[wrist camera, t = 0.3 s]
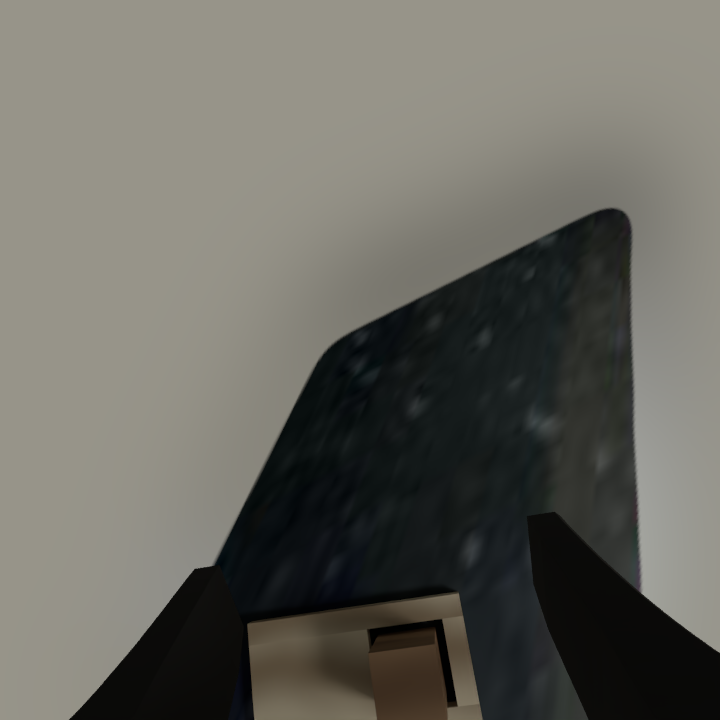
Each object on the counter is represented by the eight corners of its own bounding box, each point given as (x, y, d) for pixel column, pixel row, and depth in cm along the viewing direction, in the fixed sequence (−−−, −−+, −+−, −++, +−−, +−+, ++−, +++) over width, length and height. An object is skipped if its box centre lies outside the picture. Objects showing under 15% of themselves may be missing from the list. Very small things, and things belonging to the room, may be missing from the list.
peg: (446, 691, 36) (447, 722, 30) (388, 698, 36) (378, 731, 31) (435, 626, 37) (434, 644, 31) (378, 634, 37) (368, 653, 32)
